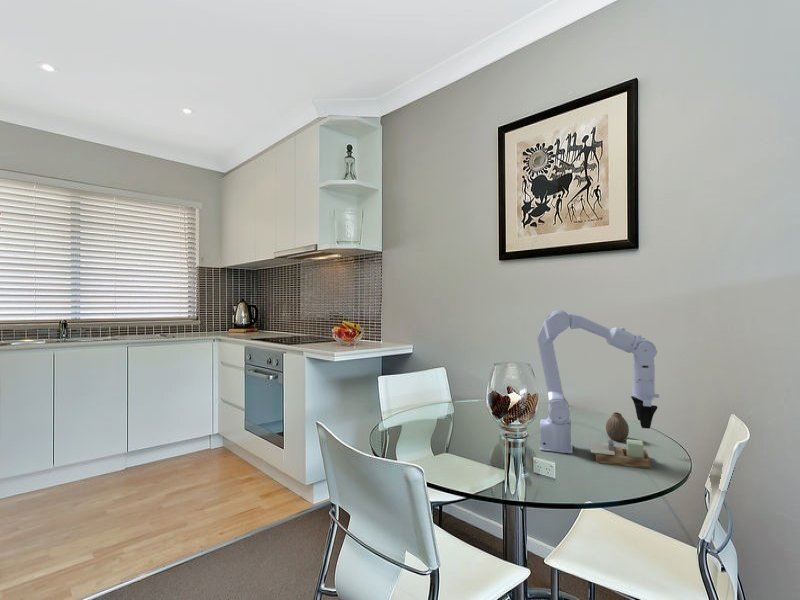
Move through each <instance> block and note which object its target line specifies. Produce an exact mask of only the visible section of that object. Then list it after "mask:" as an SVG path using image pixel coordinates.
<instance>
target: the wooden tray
mask: <svg viewBox="0 0 800 600" xmlns="http://www.w3.org/2000/svg"><path fill="white" fill-rule="evenodd" d="M614 452H615V455H608V454H599V453H594V455H595V463H601V464H609V465H618V466H623V467H624V466H627V467H634V468H642V469H649V470H651V466H652V465H651V459H650V457H649V453H648V452H647V450H646V449H644V458H637V457H628V456H627V447H626V446H625V447H624V446H616V445H614Z"/></svg>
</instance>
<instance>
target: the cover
mask: <svg viewBox="0 0 800 600" xmlns="http://www.w3.org/2000/svg"><path fill="white" fill-rule="evenodd" d="M607 441H608V442H607V443H605V442H595V441H589V447H590V449H589V450H590V453H592V454H595V453H599V454H608V455H615V452H614V446H615V443H614V440H612V439H608V440H607Z"/></svg>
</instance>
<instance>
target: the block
mask: <svg viewBox="0 0 800 600" xmlns="http://www.w3.org/2000/svg"><path fill="white" fill-rule="evenodd" d="M626 448H627V456H628V457H637V458H644V450H645V449H644V442H643V441H642V440H639V439H638V440H637V439H628V438H626Z"/></svg>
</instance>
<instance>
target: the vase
mask: <svg viewBox="0 0 800 600" xmlns="http://www.w3.org/2000/svg"><path fill="white" fill-rule="evenodd" d="M629 428H630V427H629V424H628V422H627V420H626V419H625V418H624V416H623V415H622V413H621V412H617V411H615V412H613V413H612V415H611V416H610V417H609V418H608V419H607V420H606V424H605V432H606V434H607V436H608V437H609V438H610V440H613V441H615V442H623V441H625V440H627V439H628V437H629V433H630V432H629V431H630V429H629Z"/></svg>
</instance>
